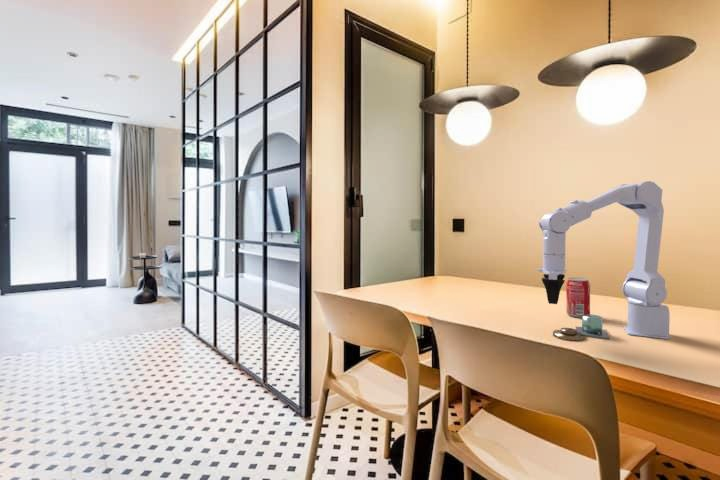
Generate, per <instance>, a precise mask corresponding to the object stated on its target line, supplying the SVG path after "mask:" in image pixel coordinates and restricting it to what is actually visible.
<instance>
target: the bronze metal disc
mask: <svg viewBox="0 0 720 480" xmlns="http://www.w3.org/2000/svg"><path fill="white" fill-rule="evenodd" d="M552 336H553V337H554V338H556V339H558V340H562V341H569V342H581V341H584V340H586V339H585V338H586V337H585V335H584V334H582V333H580V332H577V330H576V328H573V327H572V328H571V327H561V328H560V329H555V330H553V331H552Z"/></svg>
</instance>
